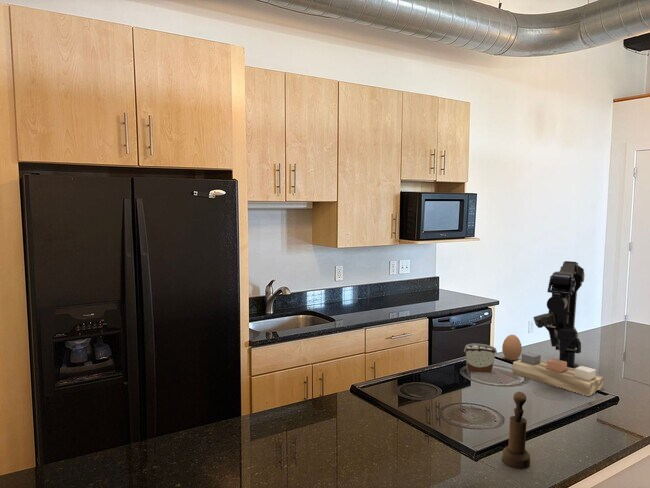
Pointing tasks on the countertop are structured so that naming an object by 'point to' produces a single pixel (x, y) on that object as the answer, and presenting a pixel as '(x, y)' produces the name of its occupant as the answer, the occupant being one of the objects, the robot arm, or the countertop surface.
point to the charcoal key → (531, 358)
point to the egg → (512, 347)
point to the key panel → (558, 377)
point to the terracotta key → (557, 365)
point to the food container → (480, 358)
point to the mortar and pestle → (517, 436)
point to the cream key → (585, 373)
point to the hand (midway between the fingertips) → (557, 350)
